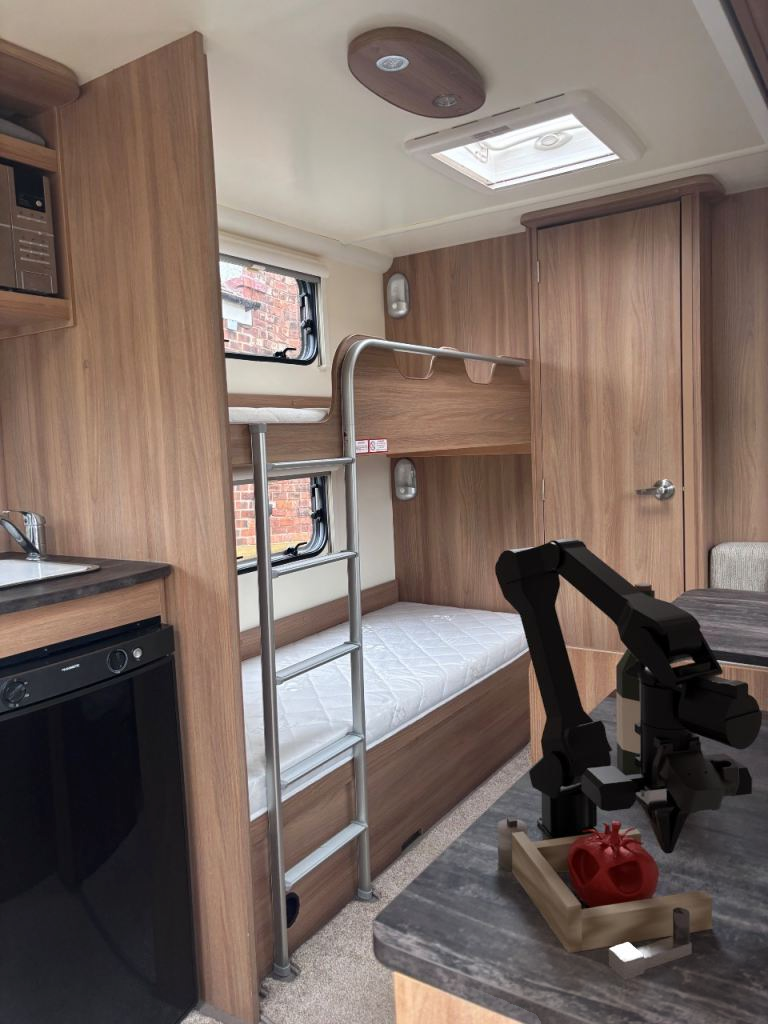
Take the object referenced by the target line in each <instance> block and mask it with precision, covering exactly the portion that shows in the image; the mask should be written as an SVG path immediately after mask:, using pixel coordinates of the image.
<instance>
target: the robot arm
mask: <svg viewBox="0 0 768 1024" xmlns="http://www.w3.org/2000/svg"><path fill="white" fill-rule="evenodd" d="M494 566H495V567H494V572H495V576H496V579H497V583H498V586H499V588H500V590H501V591H500V592H501V593H502V596H503V598H504V599H505V600H506V602H508V604H510V605H511V607H513V609H514V610H515V611H516V612H517V613H518V615H519V617H520V621H521V624H522V628H523V632H524V636H525V639H526V644H527V647H528V650H529V651H528V652H529V655H530V658H531V663H532V667H533V670H534V674H535V678H536V682H537V685H538V689H539V693H540V697H541V701H542V705H543V709H544V713H545V723H544V727H543V731H542V734H541V739H540V745H541V750H542V758H541V759H540V760H539V761H538V762H537V763H536V764H535V765H534V766H533V767H532V768H531V769H529V772H528V774H529V779H530V784H531V787H532V788H533V789H535V790H537V791H539V792H541V796H540V797H541V798H540V800H541V801H540V802H541V817H537V818H536V822H537V824H538V825H539V826H540V827H541V828H542V830H543V831H544V832H545V833H546V834H547V836H548V837H549V838H550V839H557V838H564V837H572V836H579V835H586V834H593V832H590V831H587V832H582V831H586V830H589V829H592V830H596V831H598V830H597V829H596V827H598V808H599V810H601V811H605V812H614V811H621V810H622V811H624V810H630V809H631V808H632V807H633V805H635V803H636V802H638V803H639V804H640V805H641V807H642V809H643V810H644V813H645V815H646V817H647V819H648V821H649V823H650V826H651V828H652V830H653V831H652V832H653V833H654V836H655V837H656V838H655V839H656V840H657V842H658V844H659V847H660V849H661V851H662V852H663V853H664V854H665V855H667V854H673V852H674V851H675V848H676V845H677V843H678V840H679V838H680V835H681V833H682V831H683V828H684V825H685V824H686V821H687V820H688V817H689V815H690V814H696V813H697V812H700V811H701V812H702V811H708V810H709V811H710V810H711V811H717V810H720V809H721V807H722V804H723V800H724V797H737V796H745V795H752V794H753V792H754V777H753V775H752V773H751V770H750V769H749V768H748V767H747V766H745V765H744V764H742V763H740V762H739V761H737V760H735V759H734V758H732V757H731V756H729V755H727V754H726V753H713V754H707V755H706V754H705V755H704V754H703V751H702V743H701V741H700V737H703V738H706V739H709V740H711V741H714V742H716V743H720V744H723V745H725V746H728V747H732V748H734V749H736V750H745V749H747V748H748V747H751V745H752V744H753V743H755V740H756V739H757V737H759V733H760V731H761V727H762V724H763V723H762V721H763V715H762V714H763V713H762V711H761V709H760V706H759V705H760V704H759V702H758V701H757V699H756V698H755V697H754V696H752V695H750V694H749V684H748V682H745V681H741V680H738V679H737V680H736V679H734V680H732V679H728V678H724V677H720V675H723V672H724V671H723V670H724V669H722V667H721V665H720V663H719V661H718V659H717V657H716V655H715V654H714V653H713V651H712V649H711V647H710V645H709V644H708V642H707V640H706V638H705V636H704V635H703V633H702V632H701V624H700V623H699V621H698V619H697V618H695V616H693V615H692V614H691V613H690V612H688V611H686V610H684V609H683V608H680V607H678V606H676V605H675V604H673V603H671V602H669V601H666V600H663V599H658V598H657V597H655V598H652V597H649V596H647V595H646V594H644V593H642V592H641V591H639V590H638V589H637V588H636V587H635V585H633V584H632V583H630V581H628V580H627V579H626V578H625V577H623V576H622V575H621V574H620V573H618V572H617V571H616V570H615V569H613V568H612V567H611V566H610V565H608V564H607V563H606V562H604V561H603V560H602V559H601V558H600V557H598V555H596V554H595V553H593V552H592V551H591V550H589V549H588V548H587V545H586V544H585V542H584V541H583V540H581V539H578V538H575V537H572V538H570V537H569V538H563V539H562V538H561V539H553V540H550V541H548V542H546V543H544V544H543V543H542V544H540V545H538V546H534V547H533V546H531V547H522V548H513V549H506V550H503V551H502V552H501V553H500V555H499V557H498V558H497V561H496V563H495V565H494ZM560 576H561V577H562V578H563V579H564V580H565V581H566V582H568V583H569V584H570V585H571V586H572V587H574V589H576V591H578V592H579V593H580V594H582V596H584V598H586V599H587V600H588V601H589V602H590V603H592V604H593V605H594V606H595V607H597V608H598V609H599V610H600V611H601V612H602V613H603V614H604V615H605V616H607V618H609V620H611V621H612V622H613V623H614V624H615V626H616V627H617V632H618V636H619V639H620V641H621V643H622V644H623V645H624V646H625V647H626V648H627V649H628V650H629V651H630V652H631V653H632V655H633V656H634V657H635V658H636V659H637V660H636V662H635V663H634V664H633V665H632V666H630V667H629V668H627V669H626V670H625V674H626V675H627V676H630V677H633V678H637V679H639V680H640V723H635V732H636V733H637V734H639V735H640V757H635V766H636V767H638V768H639V769H640V773H641V774H634V775H624V774H623V773H622V772H621V771H620V770H619V769H618V767H617V766H615V765H612V758H611V757H612V756H611V752H612V751H613V749H612V746H611V745H610V743H609V741H608V740H609V739H608V737H607V732H606V726H605V724H604V723H603V721H602V720H596V721H594V720H593V718H591V716H589V714H588V713H587V712H586V711H585V710H584V708H583V705H582V701H581V698H580V694H579V690H578V686H577V682H576V680H575V675H574V672H573V667H572V664H571V661H570V657H569V652H568V650H567V646H566V642H565V638H564V636H563V631H562V628H561V623H560V619H559V616H558V612H557V609H556V603H557V599H558V595H559V591H560V589H561V587H560V586H561V581H560ZM597 608H596V609H597ZM627 649H626V650H627ZM689 660H692V661H693V662H690V663H686V664H681V665H678V666H674V667H672V664H676V663H681V662H684V661H689Z"/></svg>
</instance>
